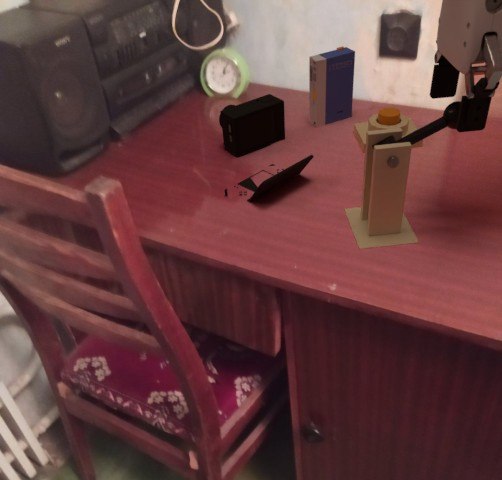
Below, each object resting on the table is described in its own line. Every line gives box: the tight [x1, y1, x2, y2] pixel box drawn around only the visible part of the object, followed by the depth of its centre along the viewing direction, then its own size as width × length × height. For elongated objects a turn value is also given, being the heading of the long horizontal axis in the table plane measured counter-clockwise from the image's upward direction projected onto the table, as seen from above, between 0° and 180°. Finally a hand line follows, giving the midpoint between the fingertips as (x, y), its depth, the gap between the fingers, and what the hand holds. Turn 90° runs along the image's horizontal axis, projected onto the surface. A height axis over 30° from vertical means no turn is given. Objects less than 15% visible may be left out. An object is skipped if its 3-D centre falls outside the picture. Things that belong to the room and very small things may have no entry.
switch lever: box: [372, 100, 461, 150], centre depth 72 cm, size 12×3×3 cm, turn 95°
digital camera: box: [218, 93, 286, 158], centre depth 101 cm, size 10×5×7 cm, turn 124°
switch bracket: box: [343, 128, 420, 250], centre depth 77 cm, size 8×10×14 cm
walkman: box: [308, 45, 356, 128], centre depth 104 cm, size 8×3×12 cm, turn 117°
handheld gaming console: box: [224, 154, 314, 203], centre depth 90 cm, size 12×7×10 cm
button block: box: [353, 112, 424, 154], centre depth 100 cm, size 10×8×4 cm
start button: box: [378, 107, 401, 126], centre depth 99 cm, size 4×4×2 cm
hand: (455, 112), depth 71 cm, fingers open, 9 cm apart
